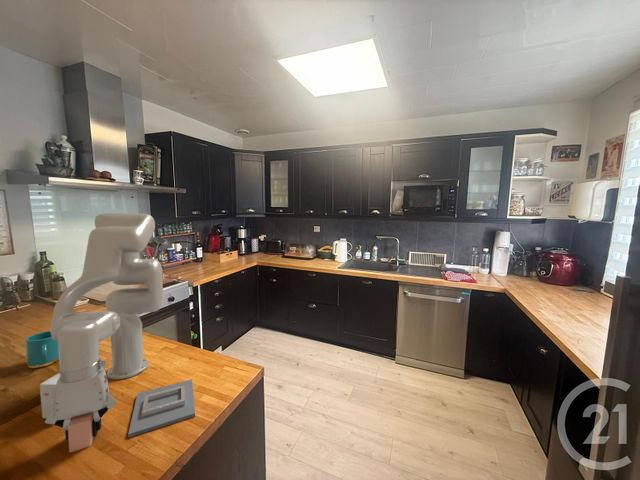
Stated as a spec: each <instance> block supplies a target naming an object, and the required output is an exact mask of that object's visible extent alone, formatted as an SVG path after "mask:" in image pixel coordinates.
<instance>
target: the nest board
mask: <svg viewBox="0 0 640 480" xmlns="http://www.w3.org/2000/svg"><path fill="white" fill-rule="evenodd" d="M194 397H195V395H194V386H193V378H192V379H188V380H183V381H181V382H177V383H173V384H169V385H165V386H161V387H156V388H153V389H150V390H145V391H141V392H137V394H136V397H135V403H134V407H133V412H132V416H131V420H130V426H129V430H128V434H127V436H128V438H129V439H130V438H132V437H134V436H138V435H141V434H145V433H147V432H150V431H154V430H157V429H160V428H162V427H163V428H164V427H165V426H169V425H172V424H176V423H179V422H182V421H185V420H187V419H190V418H194V417H196V408H195V399H194Z"/></svg>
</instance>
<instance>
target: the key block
mask: <svg viewBox="0 0 640 480" xmlns="http://www.w3.org/2000/svg"><path fill="white" fill-rule="evenodd" d="M93 419H94V418H93V415H92V413H87V414H83V415H79V416H76V417H72V419H71V421H70V423H69V425H68V438H69V444H68V451H69V453H73V452H77V451H80V450H83V449H86V448H89V447H91V446H92V443H93V441H94V438H95V437H93V433H92V423H93Z"/></svg>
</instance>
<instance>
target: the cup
mask: <svg viewBox="0 0 640 480" xmlns="http://www.w3.org/2000/svg"><path fill="white" fill-rule="evenodd" d="M25 351H26V365H28V366H36V365H43V364H46V363H49V362H51V361H53V360H54V359H58V360H59V349H58V342H57V341H55V340H54V339H53V338H52V336H51V330H47V331H41V332H38V333H34V334H33V335H30V336H28V337H27V338H25ZM28 366H27V367H28Z"/></svg>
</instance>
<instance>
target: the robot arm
mask: <svg viewBox="0 0 640 480" xmlns="http://www.w3.org/2000/svg"><path fill="white" fill-rule="evenodd" d="M94 226H95V228H94V229H92V230H91V231H90V233H89V235H88V240H87V245H86V251H85V257H84V264H83V268H82V273H81V276H80V277H79V278H78V279H76V280H75V281H74V282H72V284H71V285H69V286H68V287H67V288H66V289H65V291H64V292H63V293H62V294H61V295H60V297H59V298H58V299H57V302H55V305H54V308H53V313H52V314H53V315H52V319H51V324H50V331H51V336H52V338H53V339H54V340H55V341H57V342H58V349H59V361H58V363H59V373H60V378H59V379H58V381H57V384H56V389H55V395H54V409H53V411H52V412H51V413H50V415H49V416H48V417H47V418H45V421H44V423H45V424H47V425H48V424H49V425H54V426H56V427H59V428H61V429H62V431H64V433H65V434H64V435H65V440H66V441H67V440H68V445H69V438H68V425H69V423H70V421H71V419H72V417H76V416H79V415H83V414H87V413H92V415H93V418H94V419H93V423H92V433H93V437H94V438H96V437H97V435H98V433H99V431H100V430H101V429H102V417H104V415H105V414H106V413H107V412H108V411H109V410H111V409H112V408H113V407H114V406H116V405H117V401H118V400H117V399H116V397H115V396H113V395H112V394H110V389H109V382H108V379H111V380H116V381H117V380H124V379H127V378H132V377H134V376H137V375H138V374H141V373H142V372H144V371H145V370H147V368H148V366H149V360H148V359H146V358H144V348H143V347H144V346H143V345H144V344H143V343H144V342H143V322H142V320H141V318H140V316H138V315H137V314H144V313H154V312H157V311H159V310H161V308H162V307H163V302H164V301H163V300H164V292H163V291H164V290H163V289H164V285H163V283H164V281H163V280H164V279H163V278H164V277H163V276H164V275H163V268H162V267H163V266H162V264H161V262H160V261H159V260H158V259H154V258H153V259H152V258H151V259H150V258H143V259H141V258H140V253H141V252H142V251H144V250H145V249H146V247H147V246H148V244H149V242H150V240H151V239H152V237H153V235H154V232H155V229H156V222H155V219H154V217H153V216H152V215H150V214H148V213H131V212H129V213H127V212H105V213H104V212H103V213H100V214H97V215H95V218H94ZM111 282H112V283H113V284H114V285H117V286H136V285H146V287H129V288H128V287H127V288H120V289H115V290H112V291H111V292H110V293H108V295H107V297H106V299H105V307H106V310H100V311H90V312H89V311H88V312H75V307H76V305H77V303H78V301H79V300H80V299H81V298H82V297H83V296H84V295H86V294H87V293H88V292H90V291H92V290H93V289H96V288H97V287H98V288H99V287H101V286H102V285H105V284H108V283H111ZM108 338H110V347H111V348H110V349H111V350H110V351H111V367H110V368H108V369H107V371H106V370H105V368H104V367H107V365H108V361H107V360H102V359H101V357H100V356H101V355H100V343H101V342H102V341H104V340H106V339H108Z"/></svg>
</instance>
